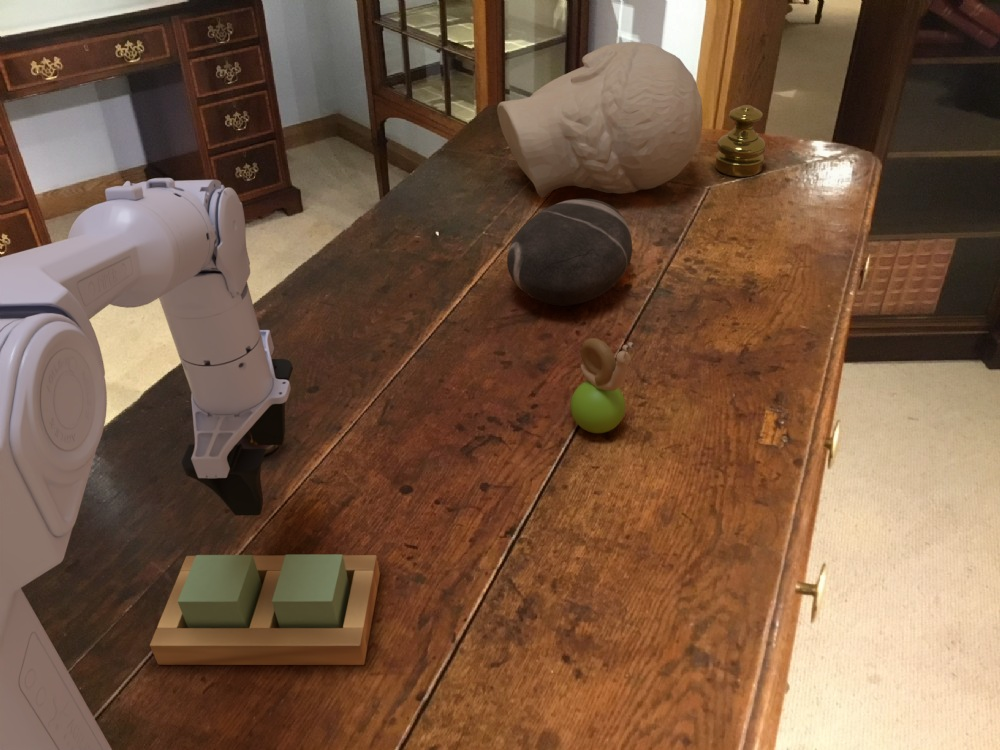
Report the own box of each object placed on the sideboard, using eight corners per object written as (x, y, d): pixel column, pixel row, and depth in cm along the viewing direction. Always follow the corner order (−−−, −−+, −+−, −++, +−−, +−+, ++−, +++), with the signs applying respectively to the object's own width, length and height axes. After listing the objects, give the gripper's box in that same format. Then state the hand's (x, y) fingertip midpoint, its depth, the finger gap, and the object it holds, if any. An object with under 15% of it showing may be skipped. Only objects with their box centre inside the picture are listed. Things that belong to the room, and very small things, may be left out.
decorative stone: (545, 242, 118) (545, 174, 112) (647, 259, 113) (652, 189, 107) (489, 312, 104) (486, 239, 98) (602, 335, 99) (606, 260, 93)
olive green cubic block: (251, 642, 67) (237, 601, 64) (193, 642, 67) (177, 601, 64) (265, 595, 71) (252, 554, 68) (210, 595, 71) (195, 554, 68)
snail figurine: (603, 457, 83) (608, 356, 76) (559, 425, 87) (560, 326, 80) (642, 433, 85) (651, 334, 78) (597, 403, 89) (602, 306, 82)
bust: (506, 163, 144) (685, 140, 142) (509, 233, 126) (714, 208, 123) (489, 39, 131) (685, 11, 129) (490, 97, 113) (718, 65, 111)
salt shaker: (772, 171, 135) (782, 108, 129) (736, 181, 132) (745, 118, 126) (740, 155, 140) (748, 95, 134) (704, 166, 137) (712, 104, 131)
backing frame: (364, 665, 65) (360, 645, 63) (158, 665, 66) (149, 645, 64) (380, 574, 72) (376, 554, 70) (193, 575, 73) (186, 555, 71)
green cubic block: (341, 642, 67) (332, 601, 64) (283, 642, 67) (271, 601, 64) (351, 594, 70) (342, 554, 67) (296, 594, 71) (285, 554, 68)
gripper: (249, 409, 54) (290, 546, 63) (296, 282, 65) (325, 414, 74) (140, 410, 54) (195, 547, 63) (206, 284, 66) (245, 415, 74)
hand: (260, 475), depth 68 cm, fingers open, 7 cm apart
